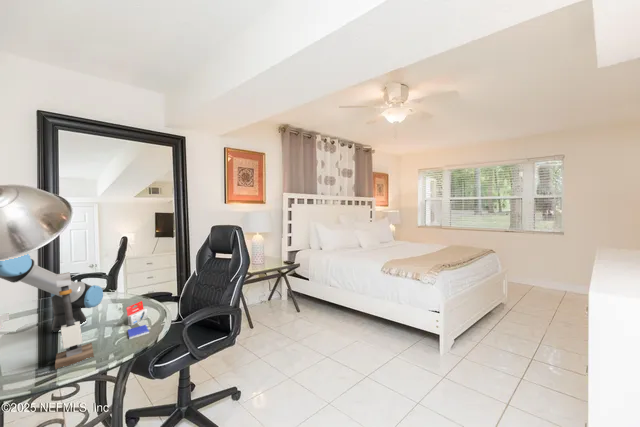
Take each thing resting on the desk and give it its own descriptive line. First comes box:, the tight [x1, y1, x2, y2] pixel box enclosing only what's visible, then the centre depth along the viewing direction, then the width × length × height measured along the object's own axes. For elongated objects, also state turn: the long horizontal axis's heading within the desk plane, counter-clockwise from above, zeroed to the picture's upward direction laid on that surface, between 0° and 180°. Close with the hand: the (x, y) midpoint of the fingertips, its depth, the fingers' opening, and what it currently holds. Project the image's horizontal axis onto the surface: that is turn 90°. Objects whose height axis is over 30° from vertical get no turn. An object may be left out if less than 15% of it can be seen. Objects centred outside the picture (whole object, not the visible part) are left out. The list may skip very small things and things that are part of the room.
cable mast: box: [54, 271, 95, 370], centre depth 125 cm, size 14×12×36 cm
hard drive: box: [127, 324, 150, 340], centre depth 146 cm, size 2×8×12 cm
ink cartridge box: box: [125, 300, 149, 326], centre depth 162 cm, size 2×11×10 cm, turn 168°
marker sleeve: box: [60, 321, 83, 350], centre depth 125 cm, size 6×6×8 cm
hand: (6, 320), depth 113 cm, fingers open, 13 cm apart
